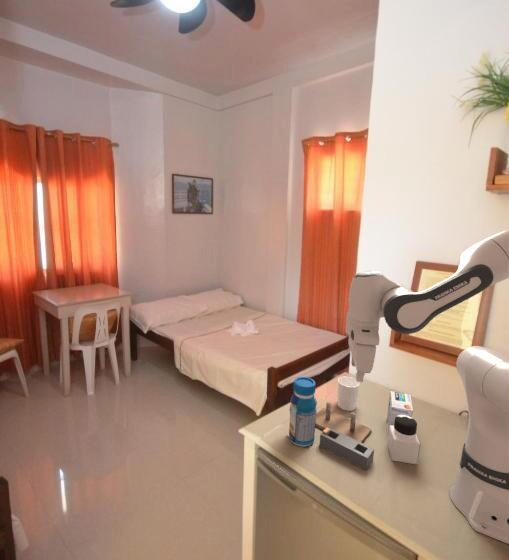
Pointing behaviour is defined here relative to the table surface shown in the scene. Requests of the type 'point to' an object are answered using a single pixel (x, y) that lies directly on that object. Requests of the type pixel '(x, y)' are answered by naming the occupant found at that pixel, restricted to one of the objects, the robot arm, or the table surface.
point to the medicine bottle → (403, 440)
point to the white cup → (347, 393)
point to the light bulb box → (398, 407)
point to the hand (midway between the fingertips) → (356, 372)
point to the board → (341, 424)
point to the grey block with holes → (347, 448)
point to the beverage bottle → (303, 412)
